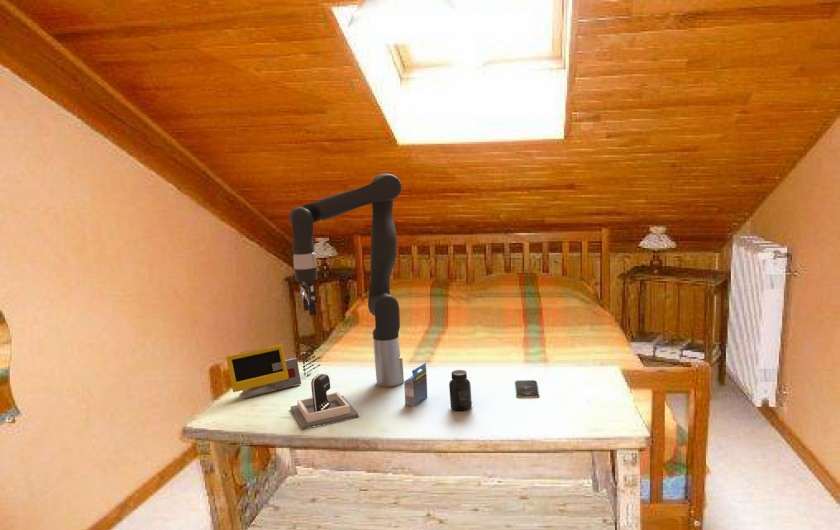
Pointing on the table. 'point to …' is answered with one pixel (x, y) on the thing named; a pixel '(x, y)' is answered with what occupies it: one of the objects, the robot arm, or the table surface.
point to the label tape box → (416, 386)
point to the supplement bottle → (460, 391)
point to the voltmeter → (292, 371)
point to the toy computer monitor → (256, 370)
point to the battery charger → (320, 392)
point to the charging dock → (323, 411)
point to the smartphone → (526, 389)
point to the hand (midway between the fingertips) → (310, 312)
